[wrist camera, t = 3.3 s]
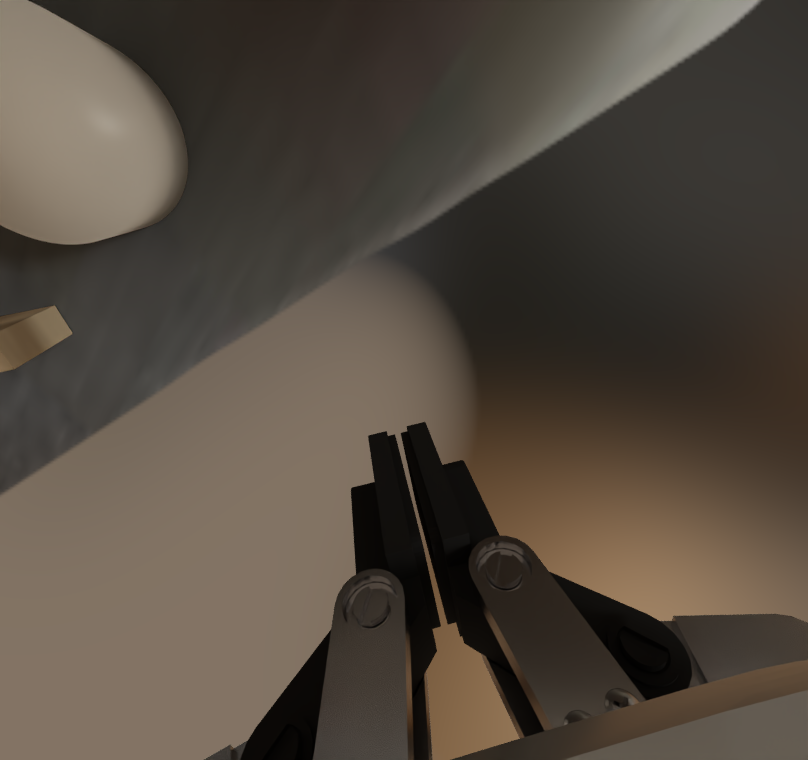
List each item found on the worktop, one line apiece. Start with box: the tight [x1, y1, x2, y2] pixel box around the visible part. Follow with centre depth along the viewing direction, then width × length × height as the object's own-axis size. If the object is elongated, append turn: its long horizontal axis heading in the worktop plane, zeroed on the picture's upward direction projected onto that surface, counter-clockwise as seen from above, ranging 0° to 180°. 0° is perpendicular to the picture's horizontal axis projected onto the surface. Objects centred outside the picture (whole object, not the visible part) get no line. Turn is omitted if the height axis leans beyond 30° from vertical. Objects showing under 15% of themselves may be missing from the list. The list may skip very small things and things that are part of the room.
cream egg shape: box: [0, 0, 188, 245], centre depth 14 cm, size 7×7×4 cm
